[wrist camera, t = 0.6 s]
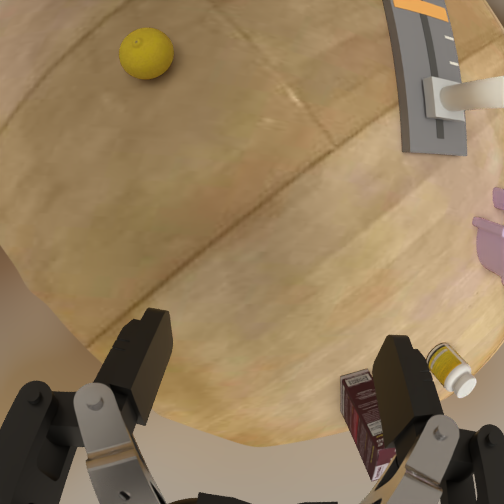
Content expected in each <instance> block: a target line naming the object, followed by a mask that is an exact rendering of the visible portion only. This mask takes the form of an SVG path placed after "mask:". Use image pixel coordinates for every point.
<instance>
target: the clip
mask: <svg viewBox="0 0 504 504" xmlns="http://www.w3.org/2000/svg"><path fill="white" fill-rule="evenodd" d="M493 203H494V207H496V208H499V209H502V210H504V189H501V188H497V187H495V188H493ZM472 224H473V225H474V226H476V227H478V232H477V254H478V257H479V260H480V262H481V264H482V265H483V266H484V267H485V268H487V269H488V270H490V271H492V272H494V273H496V274H497V275H499V276H501V281H502V284H503V285H504V226H503V225H500V224H498V223H495V222H492V221H489V220H486V219H484V218H480V217H474V218H473V221H472Z"/></svg>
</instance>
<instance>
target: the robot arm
mask: <svg viewBox="0 0 504 504" xmlns="http://www.w3.org/2000/svg"><path fill="white" fill-rule="evenodd" d="M112 347H113V348H112V349H111V350H110V352H109V354H108V356H107V358H106V359H105V361H104V363H103V365H102V367H101V369H100V371H99V373H98V375H97V377H96V379H95V380H94V382H93V383H90V384H86V385H84V386H82V387H81V388H80V389H79V390H78V391H77V392H55V391H51V389H50V387H49V386H48V385H47V384H46V383H44V382H41V381H32V382H29V383H27V384H26V385H24V386H23V387H22V388H21V390H20V391H19V393H18V395H17V396H16V398H15V400H14V402H13V404H12V406H11V408H10V410H9V412H8V414H7V416H6V418H5V420H4V422H3V424H2V426H1V429H0V504H59V502H60V498H61V495H62V492H63V488H64V485H65V482H66V479H67V476H68V473H69V470H70V467H71V464H72V461H73V458H74V455H75V452H76V449H77V447H85V449H86V452H87V456H88V459H87V460H86V466H87V470H88V473H89V476H90V479H91V482H92V485H93V487H94V490H95V493H96V495H97V498H98V500H99V503H100V504H167V503H166V501H165V499H164V497H163V495H162V493H161V492H160V490H159V488H158V486H157V484H156V482H155V481H154V479H153V477H152V475H151V473H150V471H149V469H148V467H147V465H146V463H145V460H144V458H143V456H142V454H141V452H140V449H139V447H138V445H137V442H136V440H135V438H134V435H133V431H134V428H135V425H136V424H140V425H144V426H145V425H146V423H147V420H148V417H149V414H150V411H151V409H152V406H153V403H154V400H155V397H156V395H157V392H158V389H159V386H160V383H161V381H162V378H163V375H164V372H165V370H166V367H167V364H168V362H169V359H170V356H171V353H172V347H173V337H172V330H171V322H170V314H169V311H166V310H160V309H154V308H147V310H146V311H145V313H144V315H143V317H142V319H141V320H136V319H133V320H131V321H130V322H129V323H128V324H127V325H125V326H124V327H123V328H122V330H121V332H120V334H119V335H118V337H117V340H116V341H115V343H114V345H113V346H112ZM429 371H430V370H429V367H428V364H427V361H426V359H425V358H424V356H423V355H422V354H421V353H420V351H419V350H418V349H413V347H412V344H411V342H410V339H409V337H408V336H407V335H388V336H387V337H386V339H385V341H384V343H383V345H382V347H381V349H380V351H379V353H378V355H377V357H376V359H375V361H374V364H373V371H372V374H373V381H374V386H375V391H376V397H377V402H378V408H379V414H380V420H381V426H382V432H383V439H384V446H385V449H386V448H395V449H396V454H395V455H394V457H393V458H392V460H391V461H390V463H389V464H388V466H387V468H386V469H385V471H384V472H383V474H382V475H381V477H380V478H379V480H378V481H377V483H376V484H375V486H374V487H373V489H372V490H371V491H370V493H369V494H368V495H367V496H366V497H365V498H364V500H362V501H361V503H360V504H437V503H438V501H439V499H440V501H441V504H504V435H503V433H502V431H501V430H500V429H499V428H498V427H497V426H494V425H491V424H489V425H485V426H483V427H482V428H481V429H480V430H478V431H477V432H475V431H469V430H463V429H459V428H458V426H457V424H456V423H455V421H454V420H453V419H451V418H450V417H448V416H445V415H444V413H443V410H442V407H441V404H440V400H439V397H438V394H437V391H436V388H435V384H434V381H432V380H433V378H432V375H431V373H430V372H429ZM473 474H474V475H475V482H476V488H477V501H476V495H475V488H474V481H473ZM169 504H250V503H248V502H245V501H242V500H238V499H236V498H233V497H225V496H219V495H212V494H206V493H201V492H199V494H198V498H189V499H183V500H178V501H175V502H172V503H169ZM299 504H338V502H304V503H299Z"/></svg>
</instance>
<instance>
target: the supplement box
mask: <svg viewBox="0 0 504 504" xmlns="http://www.w3.org/2000/svg"><path fill="white" fill-rule="evenodd" d="M341 413H342V415H343V417H344V419H345V422H346V424H347V426H348V428H349V430H350V432H351V435H352V437H353V439H354V442H355V444H356V446H357V448H358V451H359V453H360V456H361V458H362V460H363V463H364V465H365V467H366V469H367V472H368V474H369V477H370V479H371V481H375V480H378V479H379V478H380V477H381V475H382V474H383V472H384V471H385V469H386V468H387V466H388V464H389V463H390V461H391V460H392V458H393V457H394V455H395V454H396V449H395V448H386V449H385V446H384V439H383V432H382V426H381V420H380V414H379V408H378V402H377V397H376V391H375V386H374V381H373V377H372V375H371V374H370V372H369V371H368V369H365V370H362V371H358V372H355V373H351V374H347V375H344V376H341Z"/></svg>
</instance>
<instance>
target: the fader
mask: <svg viewBox="0 0 504 504" xmlns="http://www.w3.org/2000/svg"><path fill="white" fill-rule="evenodd" d="M423 86H424V94H425V104H426V116H427V118H435V119H442V120H449V121H455V122H457V121H465V117H464V110H476V109H491V108H504V76H499V77H493V78H487V79H481V80H476V81H470V82H465V83H458V82H454V81H450V80H446V79H441V78H437V77H432V76H431V77H428V78H424V79H423Z"/></svg>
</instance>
